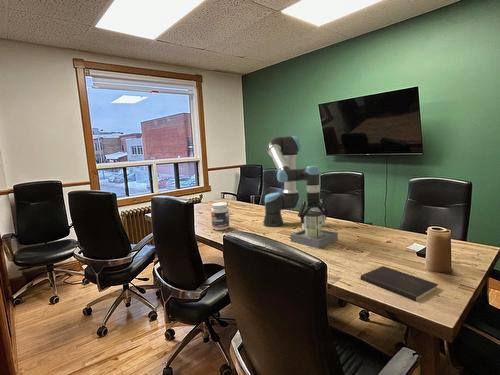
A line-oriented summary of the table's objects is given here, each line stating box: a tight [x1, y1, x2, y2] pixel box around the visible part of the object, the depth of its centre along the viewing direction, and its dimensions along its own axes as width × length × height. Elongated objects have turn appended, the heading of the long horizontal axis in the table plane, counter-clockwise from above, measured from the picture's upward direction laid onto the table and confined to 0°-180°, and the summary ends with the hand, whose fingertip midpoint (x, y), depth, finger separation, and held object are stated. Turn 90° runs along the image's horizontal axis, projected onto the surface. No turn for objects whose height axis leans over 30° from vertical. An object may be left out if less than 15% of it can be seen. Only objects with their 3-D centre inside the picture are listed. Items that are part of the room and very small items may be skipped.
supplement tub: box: [210, 202, 230, 231], centre depth 214 cm, size 13×13×18 cm
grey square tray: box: [289, 228, 339, 249], centre depth 177 cm, size 20×20×4 cm
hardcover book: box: [360, 265, 439, 303], centre depth 118 cm, size 16×23×2 cm
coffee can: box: [304, 210, 323, 238], centre depth 176 cm, size 10×10×14 cm
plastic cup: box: [310, 207, 324, 214], centre depth 210 cm, size 11×11×12 cm
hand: (313, 226), depth 176 cm, fingers open, 13 cm apart
